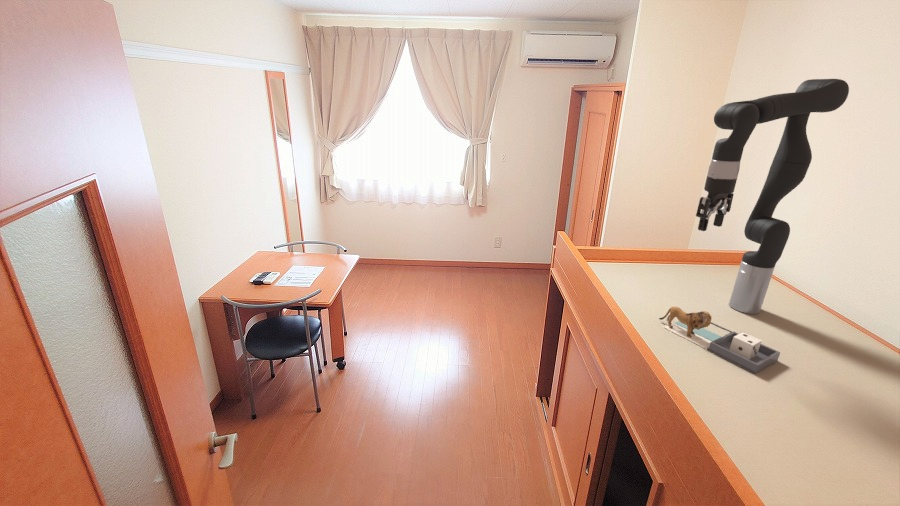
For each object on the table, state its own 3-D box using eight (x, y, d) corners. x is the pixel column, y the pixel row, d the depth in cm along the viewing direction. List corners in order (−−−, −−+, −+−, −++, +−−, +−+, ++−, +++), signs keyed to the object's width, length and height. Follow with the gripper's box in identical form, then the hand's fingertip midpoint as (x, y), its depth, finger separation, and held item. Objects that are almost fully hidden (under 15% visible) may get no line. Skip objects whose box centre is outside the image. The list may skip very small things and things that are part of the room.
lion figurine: (709, 337, 123) (716, 312, 120) (701, 343, 120) (708, 317, 117) (662, 318, 134) (668, 294, 131) (654, 322, 131) (659, 298, 128)
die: (737, 346, 118) (742, 331, 117) (757, 355, 114) (762, 340, 112) (728, 351, 116) (733, 336, 114) (748, 360, 112) (753, 345, 110)
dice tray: (730, 339, 123) (733, 331, 122) (777, 360, 113) (780, 352, 112) (708, 350, 117) (710, 342, 116) (754, 374, 107) (757, 365, 106)
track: (694, 315, 137) (694, 314, 137) (737, 334, 126) (737, 333, 126) (664, 327, 129) (664, 327, 129) (706, 349, 118) (706, 348, 118)
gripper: (721, 171, 124) (709, 221, 130) (695, 176, 117) (684, 228, 123) (748, 175, 118) (734, 227, 124) (722, 180, 111) (709, 235, 117)
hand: (709, 228), depth 123 cm, fingers open, 8 cm apart
